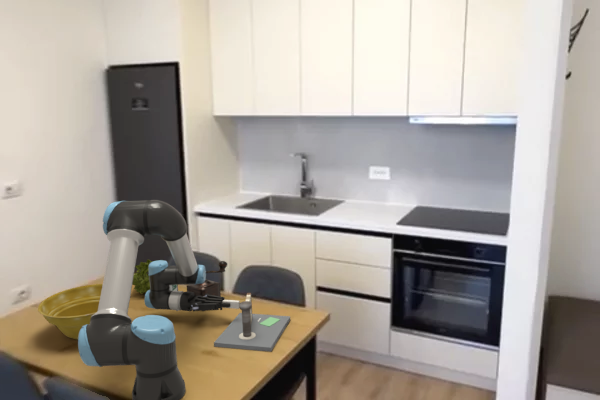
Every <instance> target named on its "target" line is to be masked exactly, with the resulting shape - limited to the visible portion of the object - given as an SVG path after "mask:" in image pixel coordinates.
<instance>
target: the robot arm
mask: <svg viewBox="0 0 600 400" xmlns="http://www.w3.org/2000/svg"><path fill="white" fill-rule="evenodd" d="M102 222H103V223H102V230H103V232H104V234H105V236H106V238H107V240H108V241H109V242H110V244H109V250H108V256H107V260H106V265H105V270H104V277H103V281H102V284H103V286H102V291H101V296H100V301H99V306H98V311H97V313H95V314H94V315H92V316H91V319H90V324H89V325H88V324H86V325H84V326H82V328H81V329H80V332H79V337H78V339H77V347H78V352H79V356H80V360H81V361H82V362H83V364H85V365H86V366H88V367H99V368H102V367H113V366H114V367H115V366H116V367H118V366H135V372H136V373H135V374H136V375H135V378H134V382H133V383H134V384H133V387H132V391H131V397H132V400H182V398H183V397H184V396H185V394H186V382H185V379H184V378H183V376H182V372H180V369H179V367H178V357H177V356H178V355H177V345H176V333H175V328H174V323H173V321H171V320H170V319H169V318H168V317H166V316H162V315H156V314H146V315H144V316H141V315H140V316H138V317H136V318H134V319H133V320H132V318H131V317H130V316H129V306H130V300H131V295H132V287H133V285H132V283H133V276H134V274H135V270H136V267H135V266H136V263H137V256H138V252H139V250H138V249H139V246H140V245H142V244H143V243H144V242H145V236H153V235H155V236H156V235H157V236H160V237H161V239H162V240H163V241H165V242H166V245H167V246H168V250H169V251H170V254H171V256H172V258H173V261H174V263H175V265H169V263H168V261H167V260H163V259H160V260H154V261H152V262H151V263H150V264H149V271H148V273H149V274H148V273H147V274H148V275H149V282H150V290H148V291H147V292H146V293H144V301H143V302H144V305H145V306H146V307H147V308H149V309H154V310H169V311H176V312H178V311H184V312H191V311H193V312H199V311H200V312H206V311H219V310H220V311H223V309H235V310H237V309H238V310H240V307H239V303H241V301H240V300H234V299H225V296H222V295H221V296H215V295H210V294H207V293H206V294H205V296H196V295H195V294H194V293H193V292H187V291H183V290H178V291H171V290H170V285H178V286H179V285H189V284H194V285H196V284H202V283H204V282H205V279H207V278H206V277H207V273H206V271H207V270H206V266H205V265H203V264H198V263H197V260H196V257H195V254H194V251H193V248H192V246H191V245H192V244H191V243H190V239H189V236H188V234H187V233H188V225H187V222H186V219H185V218H184V216H183V215H182V214H181V213H180V212H179V210H178V209H176V208H175V207H173V206H172V205H170V204H169V203H168V202H166V201H163V200H159V199H151V200H147V199H146V200H121V201H114V202H112V203H110V204H109V205H108V206H107V207H106V208H105V210H104V213H103V218H102ZM205 310H206V311H205Z"/></svg>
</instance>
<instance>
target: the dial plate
mask: <svg viewBox="0 0 600 400" xmlns="http://www.w3.org/2000/svg"><path fill="white" fill-rule="evenodd" d="M290 321H291V316H290V315H276V314H264V313H263V314H262V313H252V322H251V336H250V337H244V336H243V325H242V312H239V313H238V315H236V317H235V318H234V319H233V320H232V321H231V322H230V324H228V326H227V327H226V328H225V329H224V330H223V332H221V334H220V335H219V336H218V337H217V338H216V339H215V341H213V347H215V348H224V349H225V348H226V349H236V350H238V349H239V350H249V351H259V352H272V351H273V349H274V348H275V346H276V345H277V344H278V343H277V342H278V341H279V339H280V338H281V336H282V335H283V332H284V331H285V330H286V328H287V326H288V325H289V323H290Z"/></svg>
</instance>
